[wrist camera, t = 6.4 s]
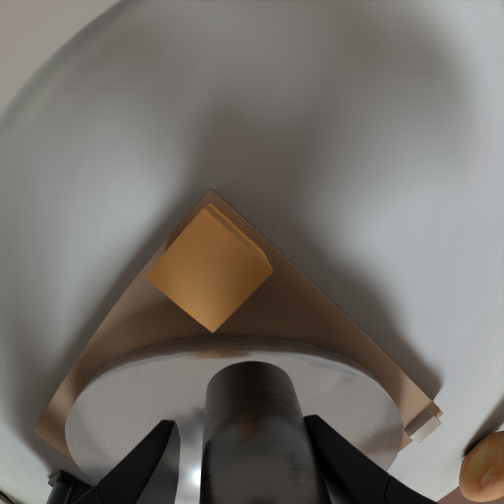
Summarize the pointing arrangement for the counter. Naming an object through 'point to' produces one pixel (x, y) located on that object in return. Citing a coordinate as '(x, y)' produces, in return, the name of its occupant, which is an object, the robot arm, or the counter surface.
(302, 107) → the counter surface
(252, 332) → the dial base
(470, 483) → the onion
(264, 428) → the dial
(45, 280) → the counter surface
